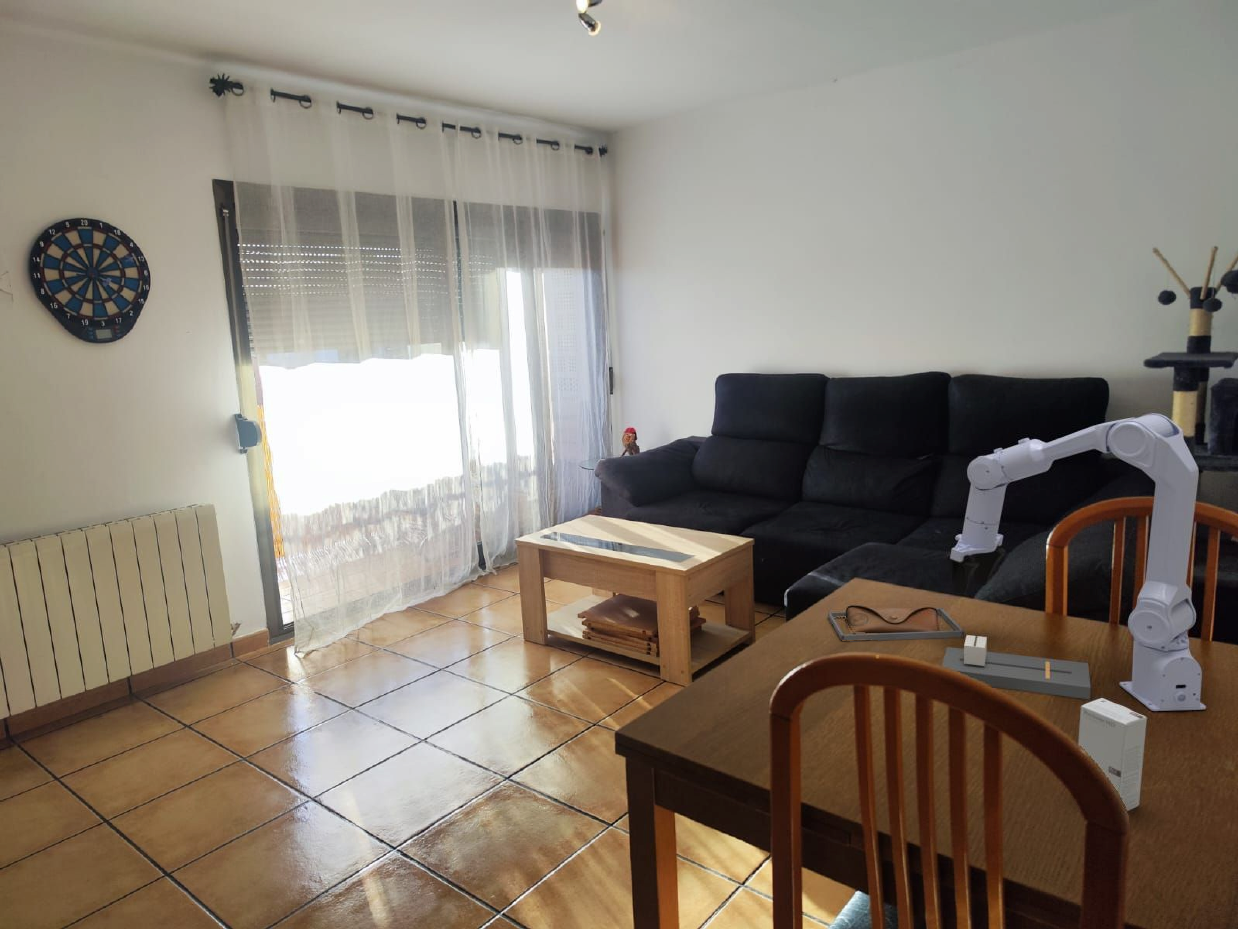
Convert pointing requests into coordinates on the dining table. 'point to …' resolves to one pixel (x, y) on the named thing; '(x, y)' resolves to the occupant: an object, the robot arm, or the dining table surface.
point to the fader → (975, 650)
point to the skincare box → (1115, 745)
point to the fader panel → (1025, 673)
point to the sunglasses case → (891, 619)
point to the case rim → (902, 636)
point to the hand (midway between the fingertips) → (969, 588)
